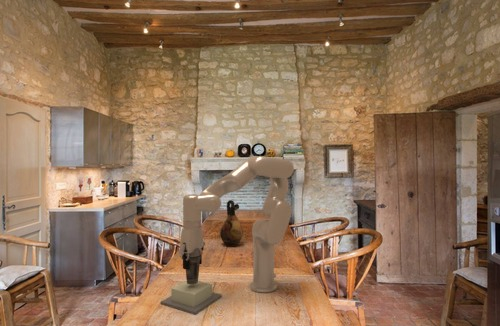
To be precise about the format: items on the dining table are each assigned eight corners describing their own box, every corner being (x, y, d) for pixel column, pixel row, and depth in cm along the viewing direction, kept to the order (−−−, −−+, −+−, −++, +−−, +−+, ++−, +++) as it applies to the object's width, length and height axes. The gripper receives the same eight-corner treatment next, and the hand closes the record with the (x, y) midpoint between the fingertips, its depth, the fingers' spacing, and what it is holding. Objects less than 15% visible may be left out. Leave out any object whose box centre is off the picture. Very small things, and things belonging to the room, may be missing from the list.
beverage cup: (185, 286, 132) (185, 237, 132) (181, 280, 139) (182, 233, 138) (203, 284, 135) (203, 236, 135) (198, 278, 142) (198, 232, 141)
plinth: (189, 288, 149) (189, 275, 149) (221, 296, 141) (221, 283, 140) (160, 304, 134) (160, 289, 133) (195, 314, 125) (195, 299, 125)
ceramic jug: (247, 245, 218) (247, 201, 218) (227, 249, 210) (227, 203, 209) (234, 240, 233) (234, 198, 232) (214, 243, 224) (215, 200, 223)
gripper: (198, 219, 146) (198, 258, 146) (170, 227, 130) (171, 271, 131) (211, 221, 142) (212, 261, 143) (185, 229, 127) (185, 274, 127)
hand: (192, 265), depth 137 cm, fingers open, 7 cm apart
